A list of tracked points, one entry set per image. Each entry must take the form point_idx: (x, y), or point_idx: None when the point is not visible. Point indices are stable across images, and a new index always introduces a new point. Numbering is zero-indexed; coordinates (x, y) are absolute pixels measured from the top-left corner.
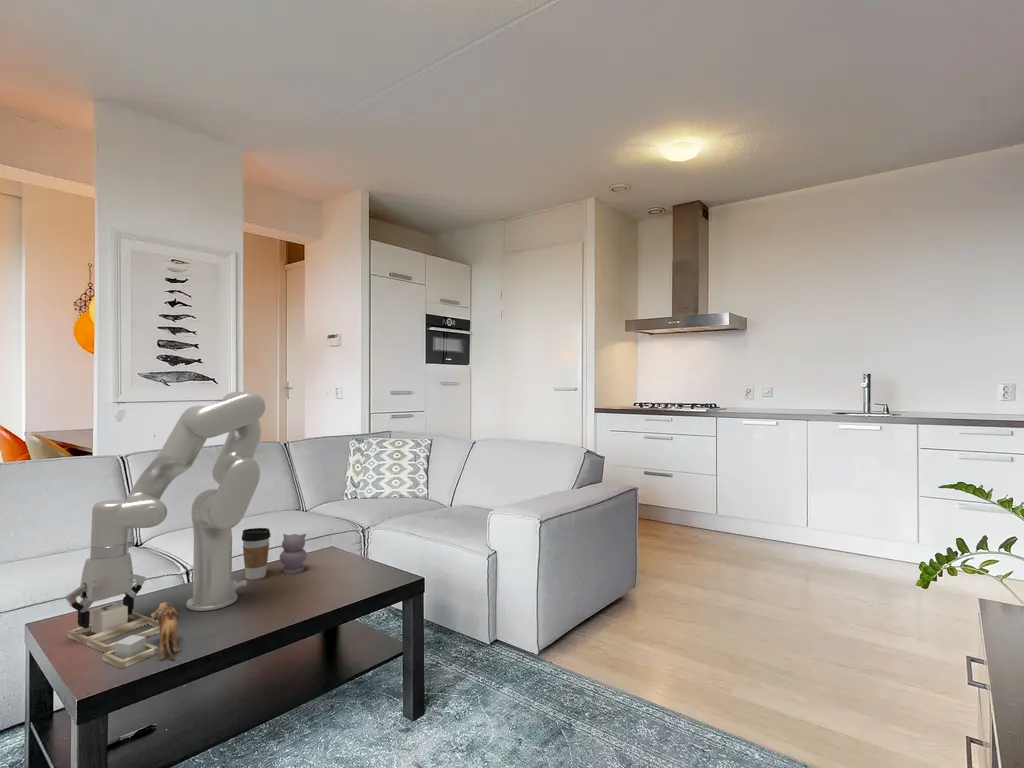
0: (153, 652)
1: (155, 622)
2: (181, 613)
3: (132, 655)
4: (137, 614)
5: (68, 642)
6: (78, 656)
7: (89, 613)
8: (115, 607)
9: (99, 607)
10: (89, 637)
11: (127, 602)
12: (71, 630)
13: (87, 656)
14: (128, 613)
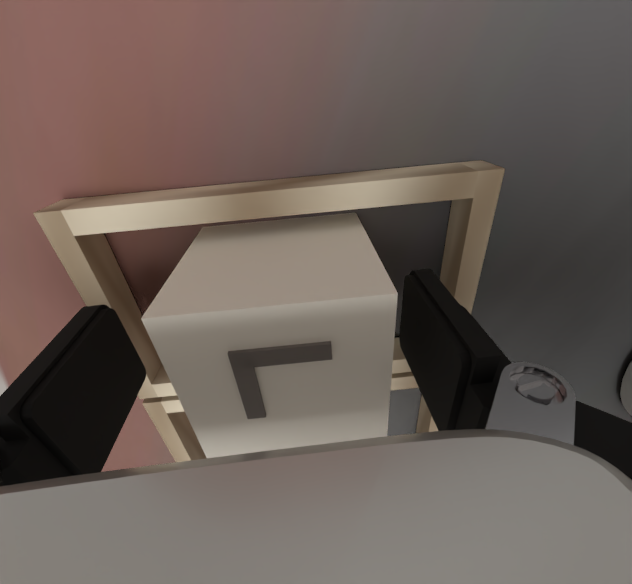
0: None
1: (428, 427)
2: (585, 355)
3: None
4: (465, 287)
5: (73, 284)
6: (118, 440)
7: (102, 466)
8: (322, 409)
9: (224, 317)
10: (157, 393)
11: (435, 390)
12: (59, 218)
13: (146, 456)
14: (401, 343)
